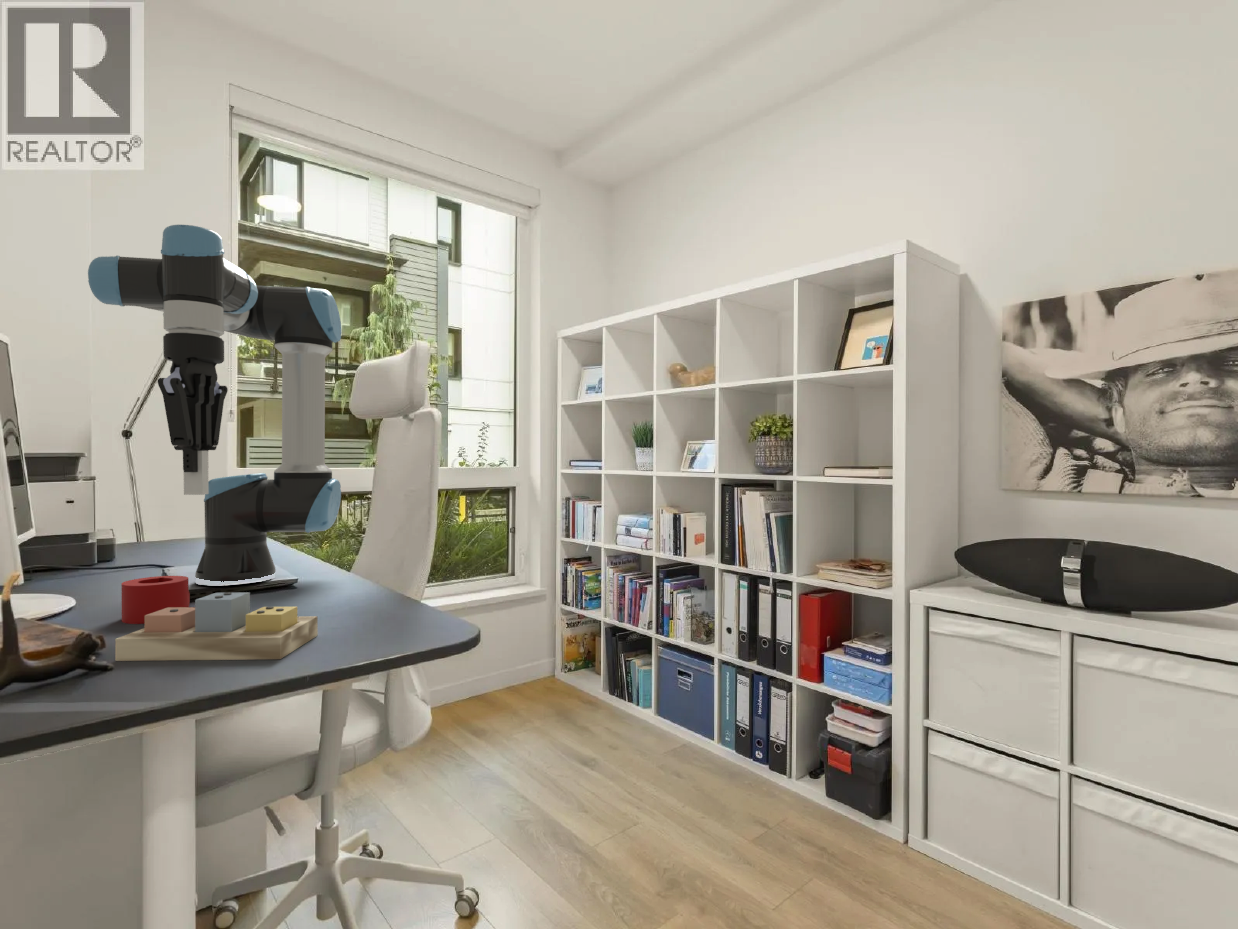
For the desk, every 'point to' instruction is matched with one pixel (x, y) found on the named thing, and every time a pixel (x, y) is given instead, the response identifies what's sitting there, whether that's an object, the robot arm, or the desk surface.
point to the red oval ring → (152, 596)
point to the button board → (215, 643)
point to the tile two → (221, 612)
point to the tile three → (271, 619)
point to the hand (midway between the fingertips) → (196, 494)
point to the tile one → (170, 620)
